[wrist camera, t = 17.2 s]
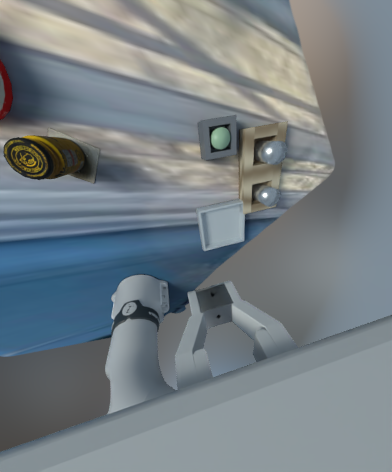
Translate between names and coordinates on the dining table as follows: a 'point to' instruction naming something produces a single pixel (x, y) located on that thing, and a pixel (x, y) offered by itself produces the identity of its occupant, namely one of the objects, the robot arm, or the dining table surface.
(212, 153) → the button housing
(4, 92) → the white red dome
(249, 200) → the frame
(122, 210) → the dining table surface
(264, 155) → the grey metal cylinder
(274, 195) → the silver domed cylinder
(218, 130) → the button
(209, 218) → the white square tray
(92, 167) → the condiment
